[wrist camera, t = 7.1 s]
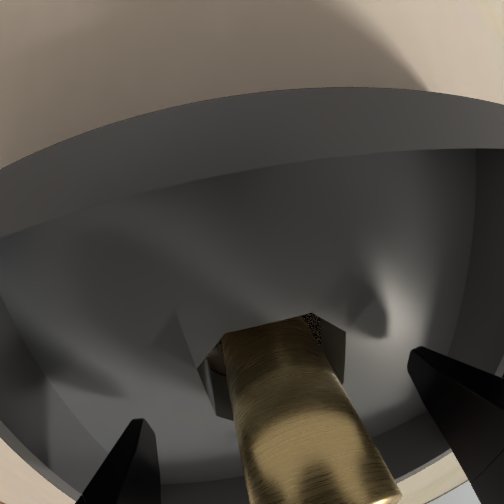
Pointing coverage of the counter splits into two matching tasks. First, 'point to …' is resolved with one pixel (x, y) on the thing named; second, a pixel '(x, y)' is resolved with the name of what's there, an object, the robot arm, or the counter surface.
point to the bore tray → (245, 271)
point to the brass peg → (298, 422)
